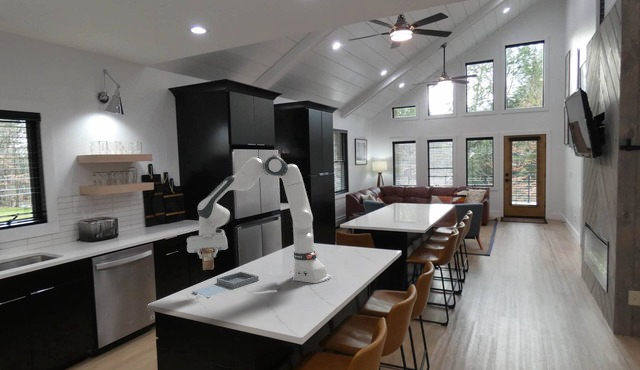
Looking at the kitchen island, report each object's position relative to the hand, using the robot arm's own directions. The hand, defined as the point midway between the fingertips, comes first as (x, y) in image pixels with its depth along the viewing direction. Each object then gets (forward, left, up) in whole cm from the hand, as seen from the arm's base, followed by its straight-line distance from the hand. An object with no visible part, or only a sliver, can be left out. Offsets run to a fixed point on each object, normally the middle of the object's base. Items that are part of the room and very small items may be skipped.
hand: (207, 257), depth 195 cm
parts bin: (+1, -17, -18) cm, 25 cm away
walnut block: (+1, 0, -6) cm, 6 cm away
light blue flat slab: (+1, 0, -18) cm, 18 cm away
